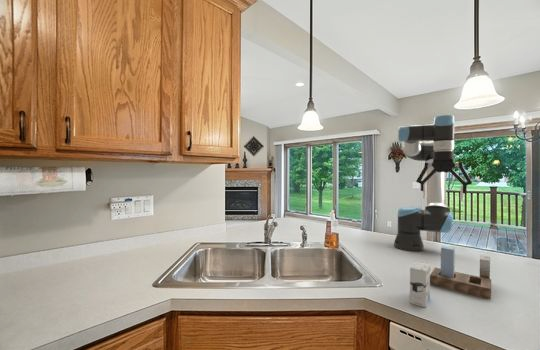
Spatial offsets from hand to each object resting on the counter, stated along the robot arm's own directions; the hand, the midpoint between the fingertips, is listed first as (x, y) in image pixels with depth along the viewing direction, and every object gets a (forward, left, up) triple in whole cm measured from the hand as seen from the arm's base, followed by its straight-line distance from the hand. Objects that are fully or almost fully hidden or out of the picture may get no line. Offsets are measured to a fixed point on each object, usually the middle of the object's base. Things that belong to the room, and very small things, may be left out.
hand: (442, 199), depth 115 cm
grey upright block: (+15, -4, -31) cm, 35 cm away
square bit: (+4, -14, -31) cm, 34 cm away
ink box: (-1, -37, -32) cm, 48 cm away
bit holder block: (+8, -14, -31) cm, 35 cm away
